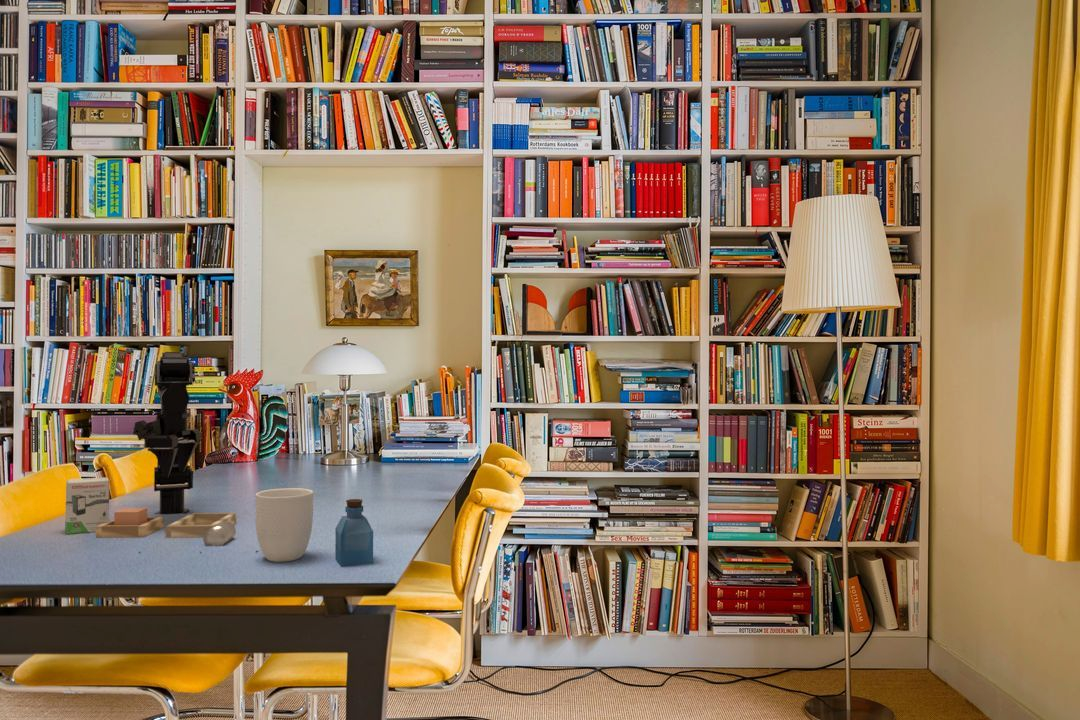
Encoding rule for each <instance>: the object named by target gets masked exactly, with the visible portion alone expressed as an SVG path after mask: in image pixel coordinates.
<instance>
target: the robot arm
mask: <svg viewBox="0 0 1080 720" xmlns="http://www.w3.org/2000/svg"><path fill="white" fill-rule="evenodd" d="M161 354H162V356H160V357H159V360H157V361H156V364H155V365H154V387H157V395H158V397H159V398H160V413H157V415H156V419H155V420H154V421H153V420H152V421H149V422H146V420H145V419H144V420H139V421H136V422H135V423H134V427H133V432H132V434H133V435H136V436H137V439H138V441H141V440H144V441H143V442H144V444H143V445H144V446H143V448H145V449H147V451H148V452H150V453H152V454H153V455H154V456H155V457H156V460H157V466H155V467H154V471H153V472H154V473H153V474H154V475H153V480H154V481H153V482H154V483H153V491H154V492H159V510H158V511H156V512H155V513H154V515H168V514H169V515H174V514H175V515H176V514H177V515H179V514H185V513H188V512H190V508H185V490H191V489H194V470H192V467H191V465H188V464H189V462H190V460H191V458H192V456H193V454H194V452H195V450H196V448H197V446H198V445H199V443H200V442H199V441H202V432H201V431H200V430H199V429H197V428H188V418H190V417H191V412H188V404H189V403H190V395H189V392H188V389H187V386H188V387H189V386H193V383H195V382H196V368H195V365H194V364H193V361H191V360H190V358H189V357H190V356H189V357H188V356H184V353H183V352H181V351H165V352H162V353H161Z"/></svg>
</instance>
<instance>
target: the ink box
mask: <svg viewBox="0 0 1080 720" xmlns="http://www.w3.org/2000/svg"><path fill="white" fill-rule="evenodd" d="M64 517H65V520H64V521H65V522H64V523H65V526H64V532H65V533H66V535H73V534H74V533H75V534H82V533H83V534H85V533H96V526H98V525H101V524H103V523H106V522H108V521H110V519H109V518H110V479H109V478H108V477H106V476H105V477H104V476H103V477H86V478H85V477H82V478H70V479H68V480H66V485H65V515H64Z"/></svg>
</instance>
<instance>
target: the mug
mask: <svg viewBox="0 0 1080 720" xmlns="http://www.w3.org/2000/svg"><path fill="white" fill-rule="evenodd" d="M254 507H255V511H254V515H255V518H254V519H255V520H254V521H255V522H254V523H255V531H256V537H257V542H258V545H259V548H260V550H261V552H262V554H263V556H264V557H265V558H266V559H267V561H270V562H276V563H283V562H286V563H287V562H292V561H296V560H299V559H300V558H302V556H303V555H304V554H305V552H306V550H307V548H308V546H309V543H310V539H311V535H312V528H313V521H314V491H313V490H311V489H308V488H301V487H300V488H299V487H295V488H294V487H293V488H292V487H289V488H285V487H284V488H273V489H267V490H261V491H258V492H256V494H255V506H254Z"/></svg>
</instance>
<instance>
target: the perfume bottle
mask: <svg viewBox="0 0 1080 720" xmlns="http://www.w3.org/2000/svg"><path fill="white" fill-rule="evenodd" d="M345 502H346V506H345V507H344V508H345V510H344V511H345V513H346V515H342V516H341V518H340V519H339V521H338V523H337V524H336V527H335V545H334V546H335V547H334V548H335V552H334V553H335V555H334V557H335V558H334V559H335V561H336V563H337V564H338V566H340V567H353V566H361V565H362V566H363V565H372V564H374V531H373V528H372V527H371V524H370V522H369V521H368V518H366V516H364V514H363V512H364V505H362V504H363V499H360V498H352V499H351V498H350V499H346V500H345Z"/></svg>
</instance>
